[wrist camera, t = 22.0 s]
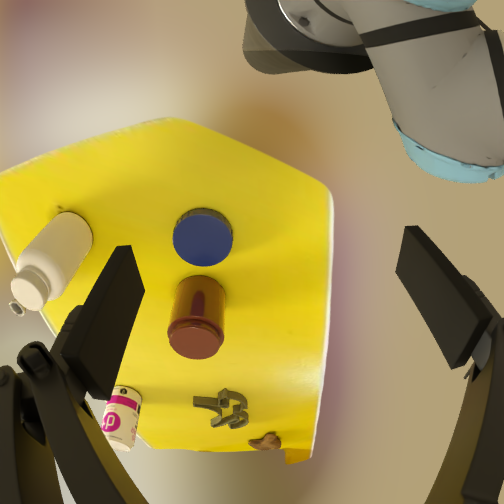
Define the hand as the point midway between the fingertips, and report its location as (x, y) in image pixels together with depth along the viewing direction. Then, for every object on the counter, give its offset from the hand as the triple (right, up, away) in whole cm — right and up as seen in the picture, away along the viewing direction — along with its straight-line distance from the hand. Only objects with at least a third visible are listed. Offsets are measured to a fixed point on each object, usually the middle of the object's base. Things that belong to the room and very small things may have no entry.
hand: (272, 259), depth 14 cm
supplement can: (-32, -34, +51) cm, 69 cm away
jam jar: (-9, -7, +35) cm, 37 cm away
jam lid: (-8, +2, +28) cm, 29 cm away
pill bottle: (-29, +3, +28) cm, 40 cm away
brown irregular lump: (+3, -56, +66) cm, 87 cm away
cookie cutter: (-7, -38, +55) cm, 67 cm away
